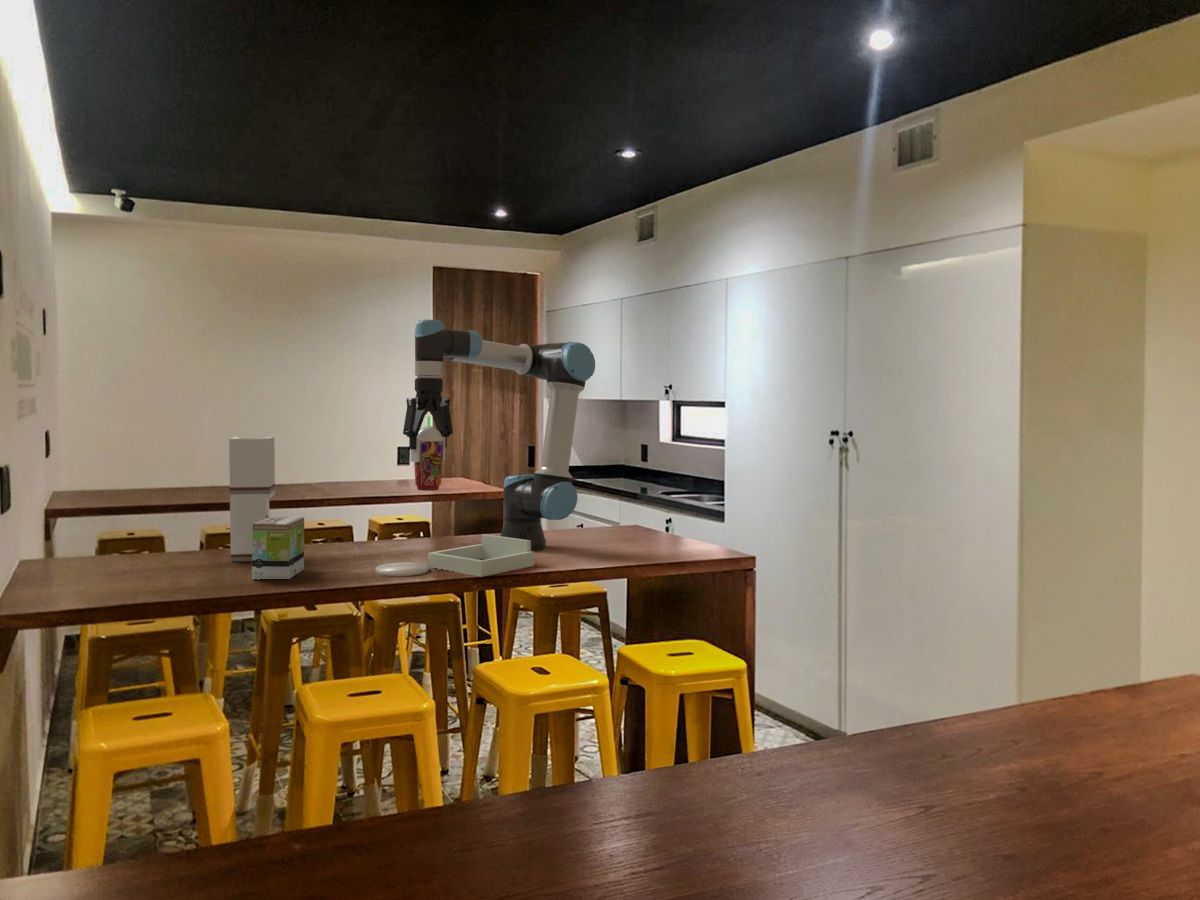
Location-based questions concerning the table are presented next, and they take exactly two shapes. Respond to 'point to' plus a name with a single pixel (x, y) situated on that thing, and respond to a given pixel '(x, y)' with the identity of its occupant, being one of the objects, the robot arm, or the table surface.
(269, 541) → the tea box
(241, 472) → the striped white pillar
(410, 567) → the saucer
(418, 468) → the smoothie
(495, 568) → the shallow open tray
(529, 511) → the robot arm
